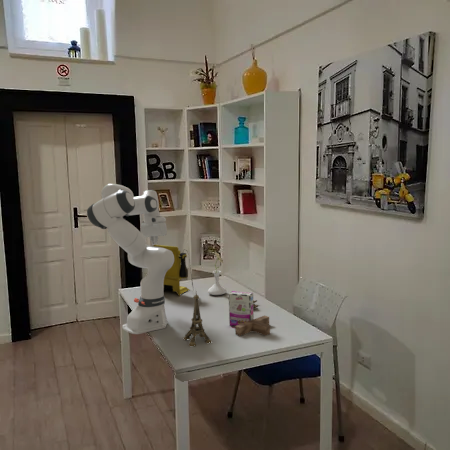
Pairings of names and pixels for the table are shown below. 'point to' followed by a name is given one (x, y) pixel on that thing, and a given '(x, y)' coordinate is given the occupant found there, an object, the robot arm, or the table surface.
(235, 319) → the candy bar box
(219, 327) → the table surface
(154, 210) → the robot arm
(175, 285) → the vintage telephone
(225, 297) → the table surface
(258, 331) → the walnut T stop
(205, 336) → the eiffel tower
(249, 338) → the table surface
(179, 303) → the table surface
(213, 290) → the flower in vase
